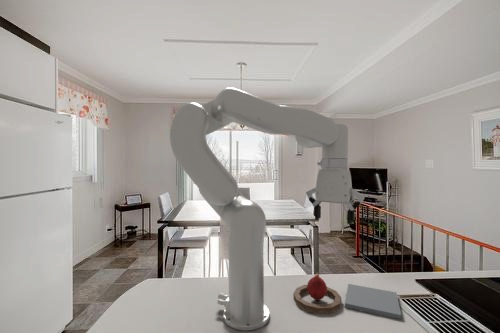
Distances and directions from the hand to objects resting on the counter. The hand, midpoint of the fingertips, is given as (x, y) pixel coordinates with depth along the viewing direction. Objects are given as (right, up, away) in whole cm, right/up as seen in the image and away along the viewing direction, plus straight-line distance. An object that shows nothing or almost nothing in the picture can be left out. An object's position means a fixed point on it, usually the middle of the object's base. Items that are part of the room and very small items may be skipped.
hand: (333, 221), depth 78 cm
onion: (-5, -24, -1) cm, 25 cm away
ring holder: (-5, -24, -1) cm, 24 cm away
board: (+11, -24, -2) cm, 26 cm away
